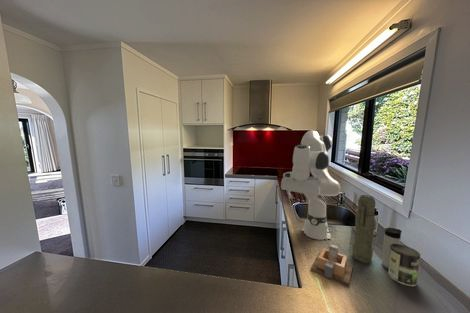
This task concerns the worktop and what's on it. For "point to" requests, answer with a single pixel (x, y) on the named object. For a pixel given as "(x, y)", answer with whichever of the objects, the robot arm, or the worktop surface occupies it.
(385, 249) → the travel mug
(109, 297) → the worktop surface
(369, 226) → the thermos
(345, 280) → the post base
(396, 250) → the coffee can
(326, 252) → the collar
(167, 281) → the worktop surface
